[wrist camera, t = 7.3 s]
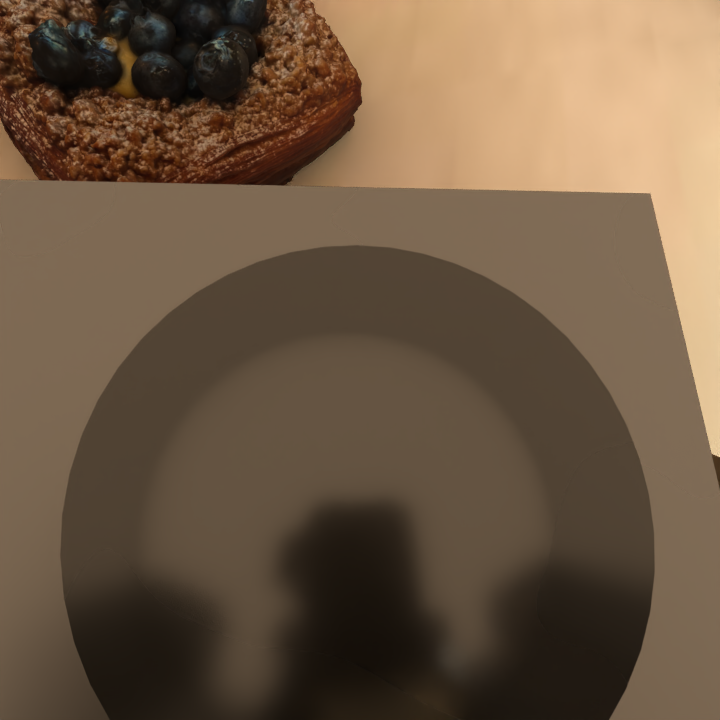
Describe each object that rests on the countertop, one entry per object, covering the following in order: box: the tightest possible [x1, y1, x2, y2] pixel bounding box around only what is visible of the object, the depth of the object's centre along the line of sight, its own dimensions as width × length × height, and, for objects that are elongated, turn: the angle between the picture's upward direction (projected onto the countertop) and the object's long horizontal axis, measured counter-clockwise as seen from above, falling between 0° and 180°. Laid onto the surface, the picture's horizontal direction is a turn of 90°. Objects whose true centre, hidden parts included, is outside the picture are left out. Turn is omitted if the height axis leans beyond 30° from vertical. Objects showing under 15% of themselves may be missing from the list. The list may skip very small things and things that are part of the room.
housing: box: [0, 180, 720, 720], centre depth 9 cm, size 5×5×14 cm
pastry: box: [0, 0, 362, 186], centre depth 22 cm, size 11×12×6 cm
